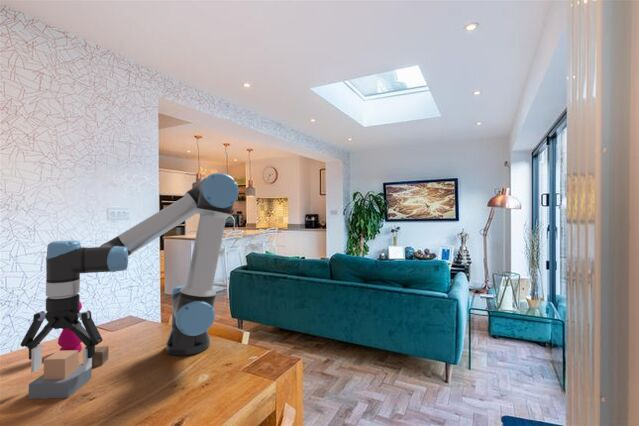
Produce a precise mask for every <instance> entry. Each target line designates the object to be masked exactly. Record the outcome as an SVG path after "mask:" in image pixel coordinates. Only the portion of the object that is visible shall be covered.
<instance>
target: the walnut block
mask: <svg viewBox="0 0 639 426" xmlns="http://www.w3.org/2000/svg"><path fill="white" fill-rule="evenodd" d="M108 360H109V345H105V346H104V345H103V346H95V355H94V356H93V357H92V367H94V366H95V367H97V366H99V367H100V366H103V365H104V364H105V363H106V362H107V361H108Z"/></svg>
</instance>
